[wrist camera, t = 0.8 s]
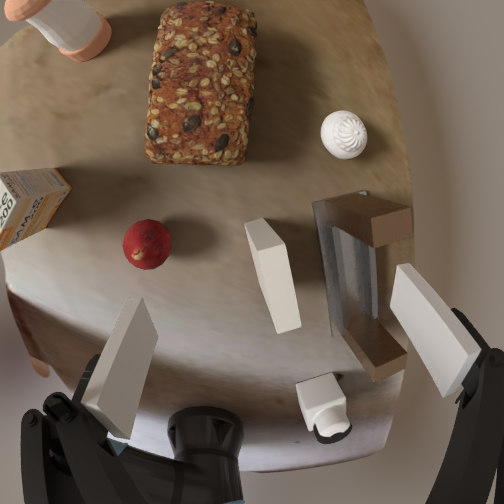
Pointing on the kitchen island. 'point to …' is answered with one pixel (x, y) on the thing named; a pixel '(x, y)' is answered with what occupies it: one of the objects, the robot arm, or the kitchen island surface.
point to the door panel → (274, 274)
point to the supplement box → (28, 202)
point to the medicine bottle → (324, 408)
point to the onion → (147, 244)
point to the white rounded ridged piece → (343, 134)
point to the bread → (201, 85)
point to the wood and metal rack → (360, 273)
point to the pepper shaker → (64, 25)
